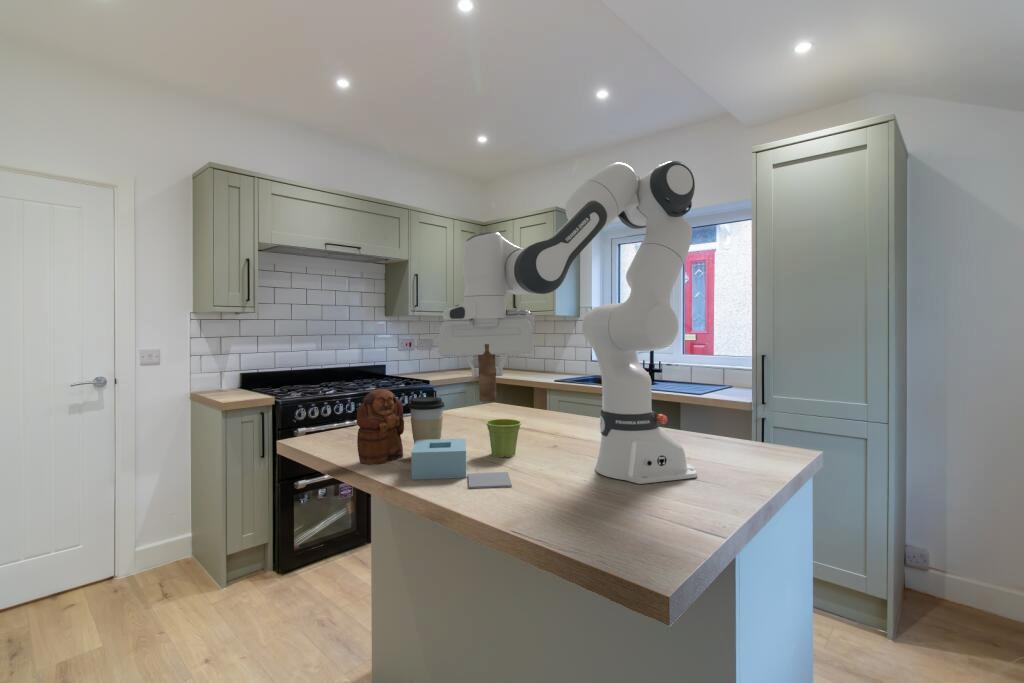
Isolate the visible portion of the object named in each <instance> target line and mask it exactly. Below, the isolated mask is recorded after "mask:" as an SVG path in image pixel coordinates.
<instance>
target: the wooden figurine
mask: <svg viewBox="0 0 1024 683" xmlns="http://www.w3.org/2000/svg"><path fill="white" fill-rule="evenodd" d="M356 410H357V411H356V424H357V426H358V427H359V428H358V431H357V437H356V438H357V439H356V440H357V441H356V442H357V443H356V444H357V446H356V447H357V453H358V459H359V460H358V461H359V462H360V464H362V465H381V464H382V465H383V464H386V463H387V462H392V461H395V460H397V458H403V457H404V450H403V448H404V447H403V441H402V437H401V435H403V434H404V431H405V420H404V407H403V402H402V401H401V400H400V399H399V398H397V396H396V395H395V394H394V393H393V392H392V391H391V390H388V389H386V388H379V389H374V390H371V391H370V392H369V393H367V394H366V395H365V396H364V398H363V399H362V402H361V403H360V404H359V405H358V406H357V408H356Z"/></svg>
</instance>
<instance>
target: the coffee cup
mask: <svg viewBox="0 0 1024 683" xmlns="http://www.w3.org/2000/svg"><path fill="white" fill-rule="evenodd" d="M407 405H408V406H407V409H409V410H410V425H411V433H412V440H413V443H414V444H413V446H414V445H415V442H416V440H428V439H442V431H443V429H442V428H443V418H444V416H443V413H444V408H445V407H446V405H445V402H443V400H442V398H441V397H438V396H421V397H419V396H418V397H413V398H411V399H410V402H409V403H408V404H407Z"/></svg>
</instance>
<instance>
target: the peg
mask: <svg viewBox="0 0 1024 683" xmlns="http://www.w3.org/2000/svg"><path fill="white" fill-rule="evenodd" d="M477 360H478V361H477V365H478V366H477V368H479V372H478V373H479V377H478V397H479V402H482V403H489V402H495V401H497V376H496V367H497V366H496V354H491V353H490V352H489V344H485V352H484V354H482V355H477Z"/></svg>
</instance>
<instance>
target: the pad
mask: <svg viewBox="0 0 1024 683" xmlns="http://www.w3.org/2000/svg"><path fill="white" fill-rule="evenodd" d="M467 476H468V489H488V488H489V489H491V488H492V489H493V488H511V487H512V486H513V485H512V481H511V478H510V474H509V472H508V471H504V472H502V471H501V472H500V471H499V472H479V473H478V472H477V473H475V472H471V473H468V475H467Z"/></svg>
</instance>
